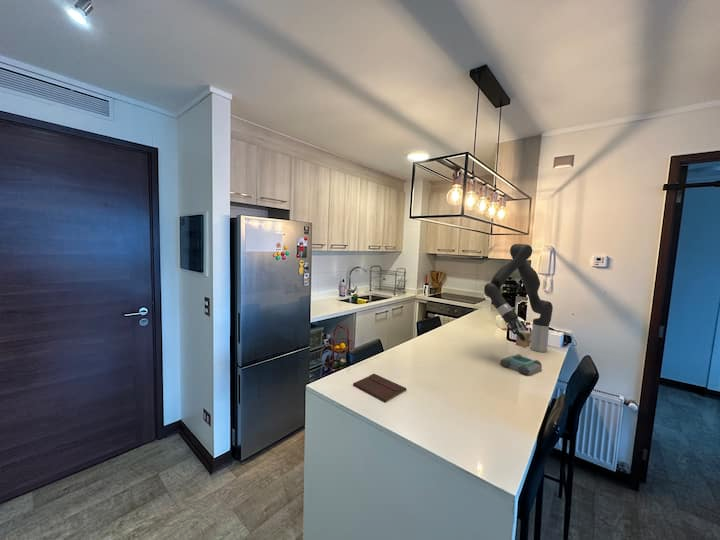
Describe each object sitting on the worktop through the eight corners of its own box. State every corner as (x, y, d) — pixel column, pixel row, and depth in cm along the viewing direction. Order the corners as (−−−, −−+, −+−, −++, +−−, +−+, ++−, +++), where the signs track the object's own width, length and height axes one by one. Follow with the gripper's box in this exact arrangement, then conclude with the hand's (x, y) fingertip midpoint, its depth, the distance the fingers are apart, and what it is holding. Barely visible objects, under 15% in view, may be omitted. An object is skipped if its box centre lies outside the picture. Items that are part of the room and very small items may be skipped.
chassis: (513, 359, 174) (514, 351, 174) (542, 370, 161) (543, 361, 160) (499, 365, 165) (499, 356, 165) (528, 376, 152) (529, 367, 152)
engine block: (520, 343, 165) (521, 329, 165) (529, 346, 161) (530, 332, 160) (515, 344, 162) (516, 331, 162) (524, 347, 158) (526, 333, 158)
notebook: (385, 403, 122) (385, 399, 122) (352, 386, 136) (353, 382, 136) (406, 391, 133) (406, 387, 133) (374, 376, 147) (374, 372, 147)
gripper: (505, 310, 162) (525, 338, 153) (518, 308, 170) (538, 334, 161) (495, 317, 167) (514, 344, 158) (509, 315, 175) (527, 340, 166)
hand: (526, 339), depth 160 cm, fingers closed on engine block, 5 cm apart
